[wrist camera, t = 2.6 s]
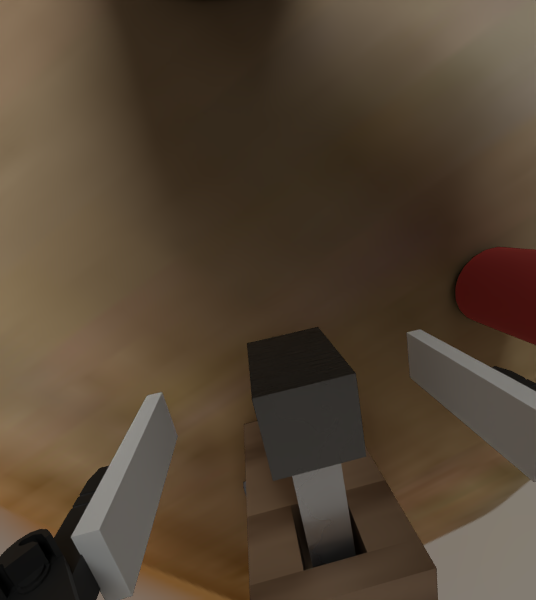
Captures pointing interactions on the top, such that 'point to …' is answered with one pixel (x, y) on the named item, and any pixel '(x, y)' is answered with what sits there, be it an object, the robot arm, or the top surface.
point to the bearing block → (365, 528)
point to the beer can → (501, 291)
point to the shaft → (310, 431)
